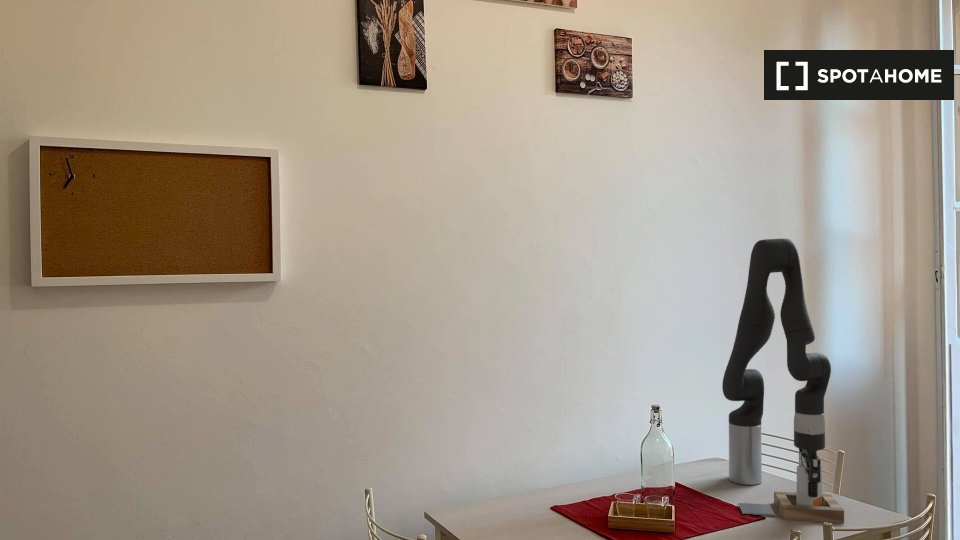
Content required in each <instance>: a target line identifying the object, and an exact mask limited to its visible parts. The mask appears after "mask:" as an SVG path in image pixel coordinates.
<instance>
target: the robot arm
mask: <svg viewBox="0 0 960 540" xmlns="http://www.w3.org/2000/svg"><path fill="white" fill-rule="evenodd" d="M771 273H772V274H773V273H774V274H775V273H781V274H782V276H783V279H784V284H785V289H784V294H783V299H782V303H781V307H780V314H779V315H780V322H781V325H782V329H783V333H784V335H785V340H786V366H787V370H788V373H789V374H790V376H791V377H792V378H793V379H794V380H796V381H797V382H806V384H805V385H804V386H803V387H802V388H799V389H797V390H796V391H795V394H794V416H793V445H794V447H795V448H797V449H798V466H800V465H801V464H804V470H805V473H806V474H807V481H808V496H809V497H817V496H818V483H820V481H821V479H820V469H821V465H822V464H821V462H822V460H821V459H820V456H819V455H817V454H818V452H819V451H822V450H824V449H826V420H825V419H826V418H825V395H826V393H827V389H828V386H829V382H830V378H831V373H832V365H831V363H830V360H829V358H828V356H827V355H825V354H824V353H821V352H809V353H807V349H806V347H807V346H808V345H810V344H812V343H814V341H815V339H816V335H815V332H814V329H813V325H812V322H811V318H810V315H809V312H808V309H807V304H806V299H805V292H804V291H805V290H804V283H803V276H802V269H801V262H800V256H799V252H798V248H797V246H796V243H795V242H793V240H791V239H790V238H769V239H768V238H766V239H760V240H758V241H756V243H754V244H753V248H752V250H751V253H750V259H749V267H748V274H747V275H748V276H747V283H746V284H747V285H746V289H745V293H744V294H745V295H744V299H743V304H742V308H741V312H740V315H739V319H738V322H737V323H738V324H737V329H736V334H735V339H734V341H733V347H732V350H731V353H730V356H729V360H728V362H727V365H726V368H725V371H724V373H723V378H722V383H721V385H722V386H721V387H722V394H723V396H724V398H725V399H726V400H728V401H730V402H742V404H741V406H739V407H738V408H736V409H734V410H732V411H731V412H729V414H728V480H729V481H730V482H732V483H734V484H740V485H745V486H747V485H748V486H749V485H750V486H752V485H760V484H761V483H762V481H763V479H762V477H763V476H762V474H763V473H762V469H763V467H762V463H763V461H762V460H763V459H762V455H763V454H762V448H763V447H762V419H763V415H764V400H765V382H764V378H763V375H762V373H761V372H760V371H759V370H758V369H755V368H753V369H752V368H749V369H747V367H748V365H749V363H750V362H751V360H752V359H753V358H754V357H755V355H756V354H758V352H760V350H762V348H763V347H764V346H765V345H766V344H767V343H768V341H769V340H770V338H771V335H772V332H773V327H774V324H775V319H776V314H775V309H774V307H773V304H772V302H771V299H770V297H769V293H768V291H767V290H768V282H769V278H770V277H769V276H770V275H771ZM807 468H809V469H807ZM812 474H815V477H812Z"/></svg>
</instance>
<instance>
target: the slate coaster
mask: <svg viewBox="0 0 960 540" xmlns="http://www.w3.org/2000/svg"><path fill="white" fill-rule="evenodd" d="M737 505H739V506H738V507H740V508H739V510H740V509H741V510H740V512H741V511H742V513H741V515H742V514H753V515H761V516H760V517H771V518H773V517H774V518H776V514H775V511H774V510H773V508H772V506H771V505H770V504H768V503H766V504H765V503H751V502H750V503H747V502H738V504H737Z"/></svg>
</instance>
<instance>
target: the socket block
mask: <svg viewBox="0 0 960 540" xmlns="http://www.w3.org/2000/svg"><path fill="white" fill-rule="evenodd" d="M796 495H797V491H796V492H792V491H791V492H790V491H773V503H774V505H775V506H776V508H777V510H778V511H779V514H780V515H781V518H782V519H783V520H787V521H788V520H791V521H792V520H793V521H812V522H825V521H828V522H829V523H845V510H844V509H843V507H842V506H841V504H839V502H838V501H837V500H836V499H835V497H834V496H833V495H832V494H831V493H822V506H802V505H796ZM828 522H827V523H828Z"/></svg>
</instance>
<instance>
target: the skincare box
mask: <svg viewBox="0 0 960 540" xmlns="http://www.w3.org/2000/svg"><path fill="white" fill-rule="evenodd" d="M807 469H809V468H807ZM812 477H815V474H812ZM820 479H821V481H820V483H818V496H817V497H809V496H808V481H807V474H806V473H805V470H804V464H801V465H800V466H799V465H797V466H796V493H797V495H796V505H802V506H822V494H823V465H822V464H821V469H820Z"/></svg>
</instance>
